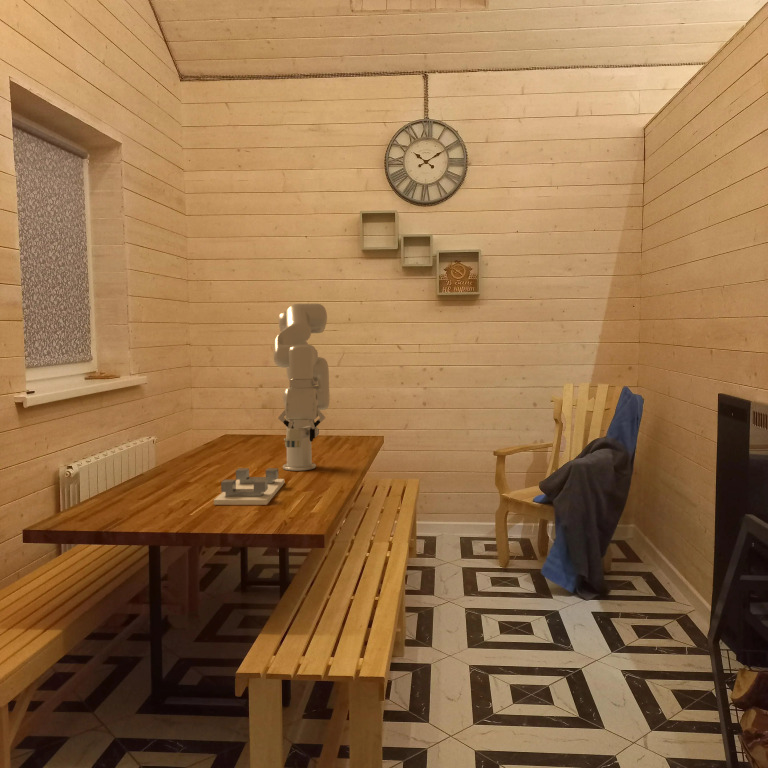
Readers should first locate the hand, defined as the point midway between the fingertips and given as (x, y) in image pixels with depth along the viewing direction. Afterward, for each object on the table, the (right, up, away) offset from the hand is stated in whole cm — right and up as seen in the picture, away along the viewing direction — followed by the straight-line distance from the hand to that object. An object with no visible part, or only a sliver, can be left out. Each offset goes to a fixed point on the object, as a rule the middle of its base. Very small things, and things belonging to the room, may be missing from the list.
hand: (302, 440), depth 219 cm
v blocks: (-17, -16, +1) cm, 23 cm away
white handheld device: (0, -1, 0) cm, 1 cm away
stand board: (-17, -17, +2) cm, 24 cm away
